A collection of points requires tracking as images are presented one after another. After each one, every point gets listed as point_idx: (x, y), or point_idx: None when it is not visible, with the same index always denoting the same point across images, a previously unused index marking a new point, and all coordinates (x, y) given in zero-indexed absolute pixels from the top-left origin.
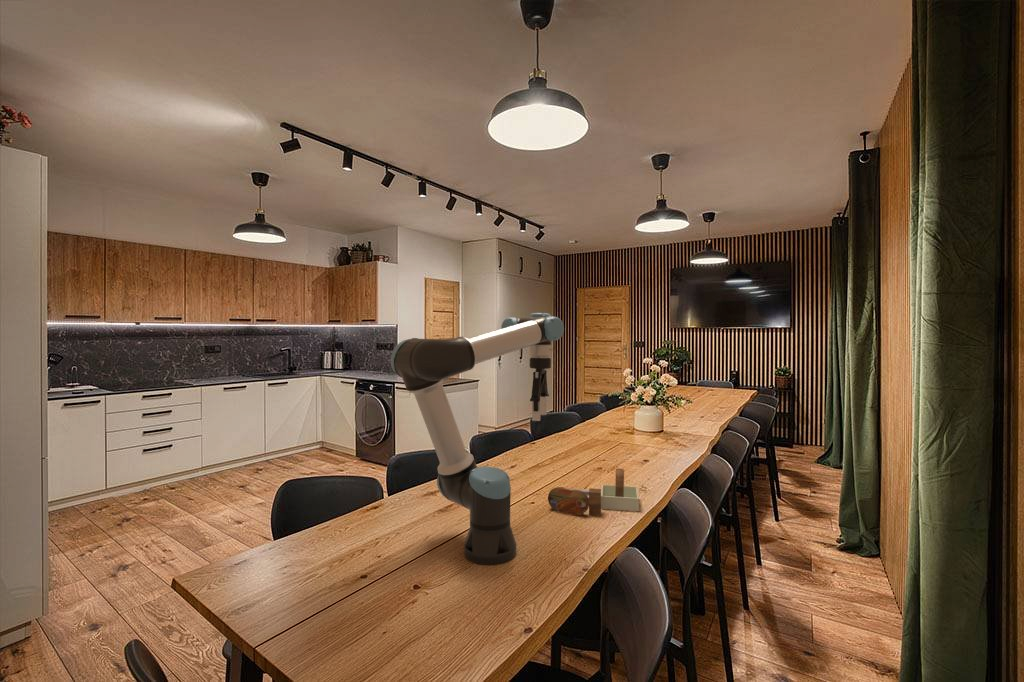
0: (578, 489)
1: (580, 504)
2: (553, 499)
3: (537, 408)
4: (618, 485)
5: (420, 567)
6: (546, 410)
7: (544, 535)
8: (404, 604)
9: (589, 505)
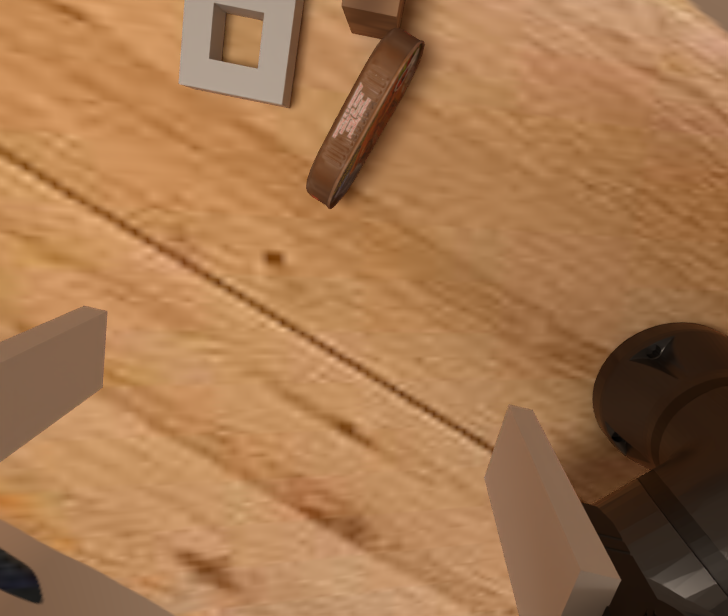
0: (186, 56)
1: (404, 72)
2: (340, 186)
3: (621, 540)
4: None
5: None
6: (63, 323)
7: (570, 232)
8: None
9: None
